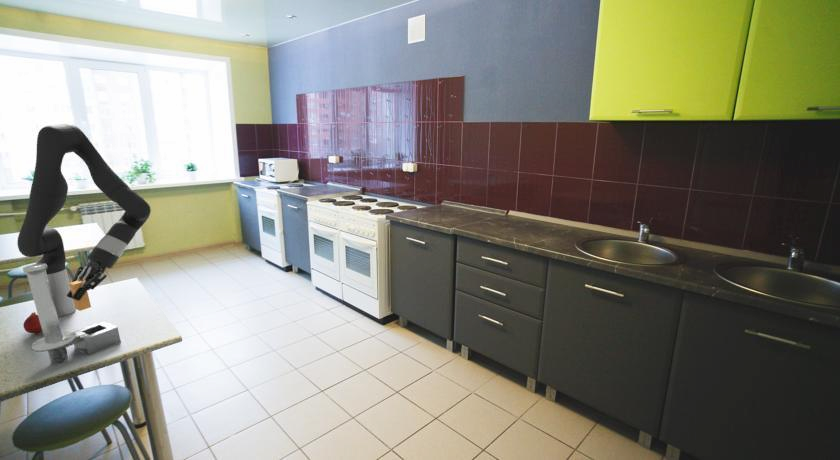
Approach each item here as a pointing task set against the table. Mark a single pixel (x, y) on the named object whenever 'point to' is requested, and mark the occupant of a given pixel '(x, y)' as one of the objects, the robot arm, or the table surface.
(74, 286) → the orange block
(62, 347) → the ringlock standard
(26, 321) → the pomegranate
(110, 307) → the table surface
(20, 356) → the table surface
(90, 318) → the table surface
